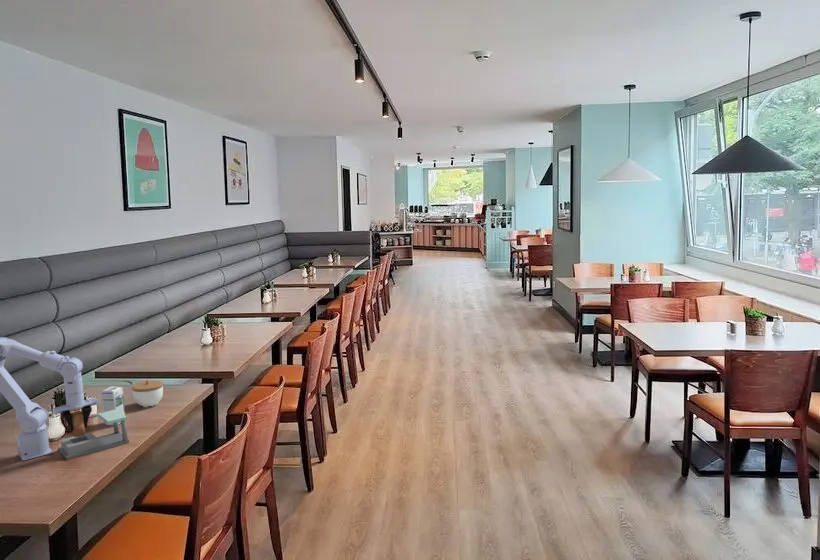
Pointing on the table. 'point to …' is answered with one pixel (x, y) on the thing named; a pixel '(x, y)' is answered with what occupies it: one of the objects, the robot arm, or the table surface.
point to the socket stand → (96, 438)
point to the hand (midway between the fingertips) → (78, 428)
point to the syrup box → (113, 400)
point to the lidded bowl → (148, 392)
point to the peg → (78, 424)
